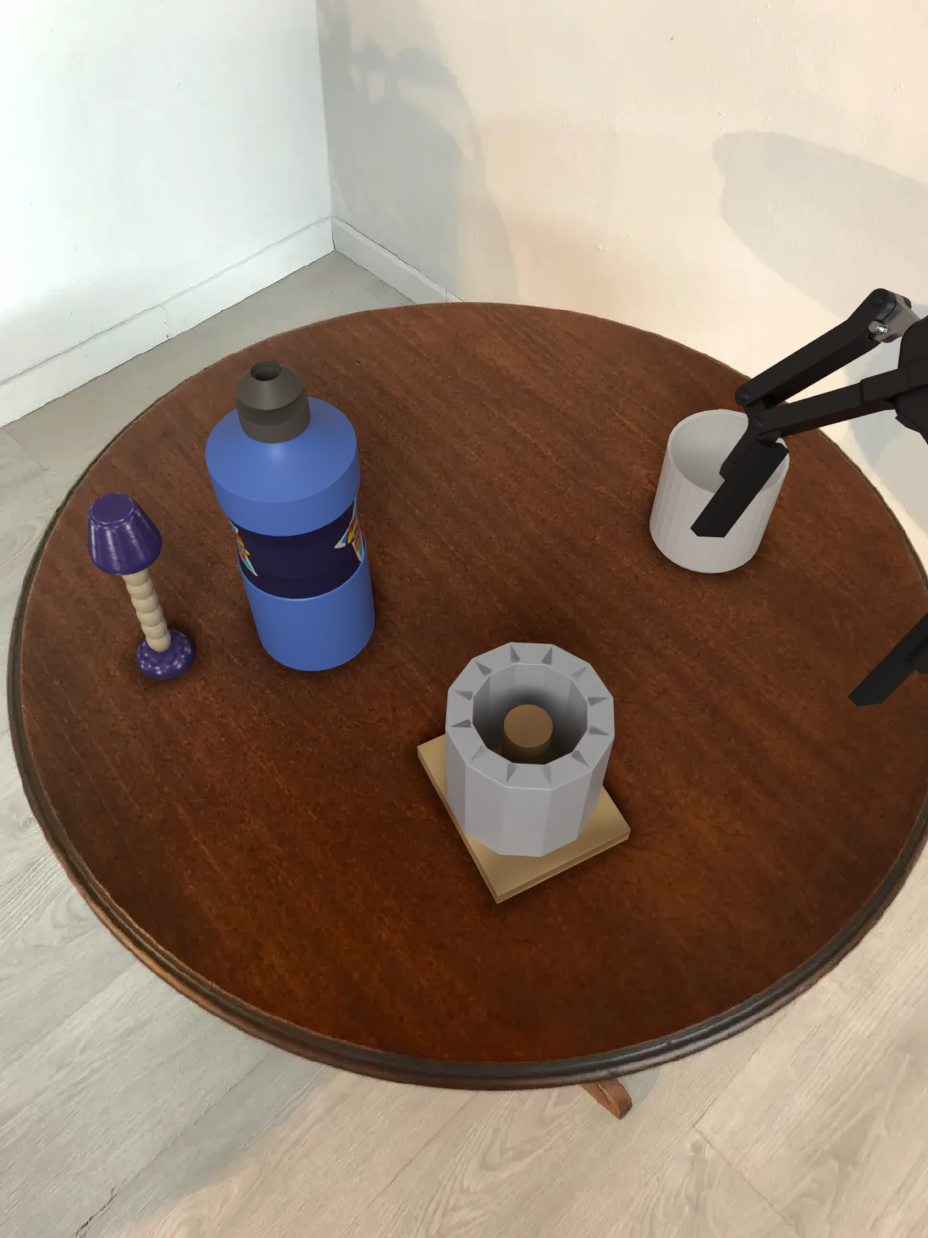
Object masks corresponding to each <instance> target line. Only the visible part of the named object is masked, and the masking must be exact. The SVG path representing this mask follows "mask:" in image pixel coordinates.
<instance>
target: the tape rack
mask: <svg viewBox="0 0 928 1238" xmlns="http://www.w3.org/2000/svg"><path fill="white" fill-rule="evenodd" d="M552 731H553V723H552V720H551V718H550V716H549V715H548V713H547V712H546V711H545V710H543V709H542V708H540V707H538V706H535V705H520V706H517V707H515V708H514V709H512V710H511V711H510V712H509V713H508V714H507V716H506V717H505V720H504V728H503V742H502V745H499V746H497V747H495V748H493V749H490V750H491V751H493V752H495V753H496V754H498V755H500V756H502V757H503V758H505V759H507V760H508V761H510V762H512V763H519V764H539V765H545V764H548V763H550V762H552V761H554V760H556V759H558V758H560V756H559V755H558V754H556V753H555V752H553V751H551V750H550V744H551V738H552ZM416 748H417V757H418V759H419V761H420V763H421V765H422V767H423V768H424V771H425V773H426V775H427V776H428V778H429V780H430V782H431V783H432V785H433V787H434V789H435V790H436V794H437V795H438V796H439V799H440V800H441V802H442V804H443V806H444V809H445V810H446V811H447V814H448V816H449V817H450V819H451V821H452V823H453V825H454V826H455V828H456V831H457V832H458V834H459V836H460V838H461V840H462V841H463V843H464V845H465V847H466V849H467V852H469V854H470V856H471V858H472V860H473V862H474V864H475V865H476V867H477V869H478V871H479V873H480V875H481V877H482V878H483V881H484V883H485V884H486V886H487V888H488V890H489V892H490V893H491V895H492V897H493V899H494V901H495V903H496V904H497V905H498V904H500V903H502V902H504V901H506V900H508V899H510V898H512V897H514V896H516V895H518V894H520V893H523V892H524V891H526V890H529V889H530V888H532V887H535V886H536V885H538V884H541V883H542V882H544V881H546V880H548V879H551V878H552V877H554V876H556V875H558V874H560V873H562V872H564V871H566V870H568V869H570V868H572V867H575V866H576V865H579V864H581V863H582V862H584V861H587V860H588V859H590V858H592V857H594V856H596V855H598V854H600V853H603V852H605V851H607V850H609V849H611V848H612V847H614V846H616V845H619V844H620V843H622V842H624V841H627V840H628V839H629V837H630V835H631V831H632V829H631V827H630V825H629V824H628V822H627V821H626V819H625V818H624V816H623V815H622V813H621V812H620V810H619V809H618V807H617V805H616V804H615V802H614V801H613V799H612V797H611V796H610V794H609V793H608V791H607V790H606V789H605V786H604V785H603V784H602V787H601V791H600V795H599V799H598V802H597V806H596V809H595V811H594V812H593V814H592V815H591V817H590V819H589V820H588V822H587V823H586V825H585V827H584V828H583V830H582V831H581V833H580V835H579V836H578V838H577V839H576V840H574V841H572V842H570V843H568V844H566V845H564V846H562V847H560V848H558V849H556V850H554V851H552V852H550V853H548V854H546V855H544V856H542V857H533V856H514V855H500V854H498V853H496V852H495V851H493V850H491V849H490V848H488V847H486V846H485V845H483V844H481V843H480V842H478V841H477V840H475V839H473V838H472V837H470V836H468V835H467V834H466V833H464V831H463V829H462V827H461V825H460V823H459V821H458V820H457V818H456V816H455V814H454V812H453V810H452V808H451V807H450V805H449V803H448V801H447V777H446V736H445V733H444V734H441V735H440V736H437V737H435V738H433V739H431V740H428V741H427V742H426V741H425V742H424V743H422V744H419V745H416Z"/></svg>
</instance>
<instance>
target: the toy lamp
mask: <svg viewBox="0 0 928 1238" xmlns="http://www.w3.org/2000/svg"><path fill="white" fill-rule="evenodd" d="M89 506H90V507H89V508H88V513H87V550H88V555H89V559H90V561H91V562H92V563H93V565H94V566H95V567H96V568H97V569H98V570H100V571H101V572H103V573H106V574H108V575H110V576H111V575H112V576H121V578H122V579H123V580H124V582H125V588H126V590H127V592H128V594H129V595H130V601H131V605H132V606H133V607H134V609H135V612H136V613H135V614H136V617H137V620H138V621H139V622H140V627H141V631H142V632H143V634H144V635H145V637H144V638H143V639H142V640H141V641H140V643H139V644H138V647H137V650H136V663H137V667H138V669H139V671H140V673H142V674H143V675H144V676H145V677H148V678H150V679H153V680H158V681H164V680H172V679H174V678H177V677H179V676H181V675H182V674H183V673H185V672H186V671H187V670H188V669H189V668H190V667H191V665H192V663H193V661H194V660H195V659H194V658H195V648H194V645H193V643H192V641H191V640H190V639H189V637H187V635H185V634H184V633H182V632H181V631H178V630H176V629H173V628H172V629H171V628H168V622H167V620H166V618H165V617H164V611H163V607H162V606H161V604H160V603H159V596H158V592H157V591H156V590H155V589H154V588H155V587H154V582H153V579H152V578H151V576H150V570H149V567H151V566H152V565H153V564H154V563H155V562H156V561H157V560H158V558H159V557H160V555H161V552H162V548H163V537H162V535H161V532H160V530H159V528H158V527H157V526H156V524H155V523H154V522H153V520H152V519H151V518H150V516H149V515H148V513H146V512H145V510H144V509H143V508H142V506H141V505H140V504H139V503H138V502H137V501H136V500H135V498H133V497H132V496H130V495H128V494H127V493H122V492H109V493H104V494H103V495H101V496H99V497H97V498H96V499H95V500H94V501H93V502H92V503H91V505H89Z"/></svg>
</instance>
